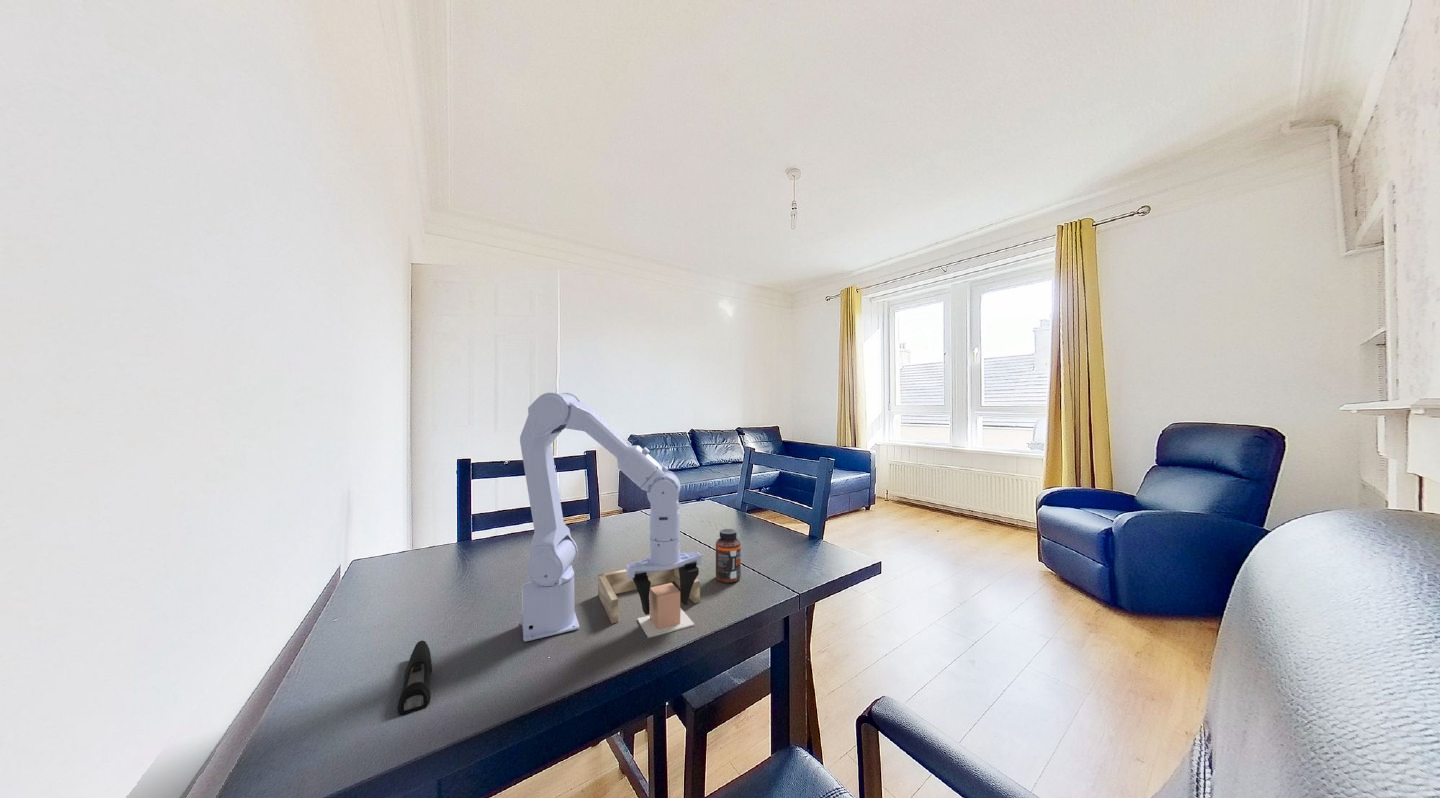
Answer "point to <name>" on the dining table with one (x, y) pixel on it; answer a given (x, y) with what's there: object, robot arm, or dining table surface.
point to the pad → (653, 631)
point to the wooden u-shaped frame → (621, 583)
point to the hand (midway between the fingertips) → (665, 607)
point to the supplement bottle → (728, 556)
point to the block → (664, 605)
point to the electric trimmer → (416, 681)
